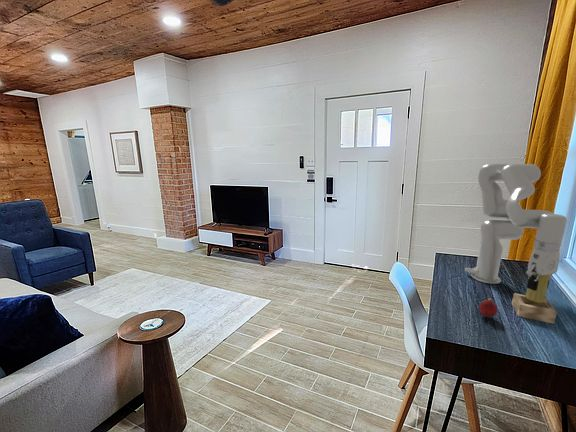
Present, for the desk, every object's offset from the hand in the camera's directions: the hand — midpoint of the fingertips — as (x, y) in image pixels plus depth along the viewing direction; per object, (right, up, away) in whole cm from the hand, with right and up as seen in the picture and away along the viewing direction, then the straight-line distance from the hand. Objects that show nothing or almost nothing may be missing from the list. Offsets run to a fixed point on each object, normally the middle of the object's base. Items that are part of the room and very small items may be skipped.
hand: (537, 287), depth 111 cm
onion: (-21, -12, -1) cm, 24 cm away
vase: (0, -5, +1) cm, 5 cm away
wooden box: (0, -11, +2) cm, 11 cm away
